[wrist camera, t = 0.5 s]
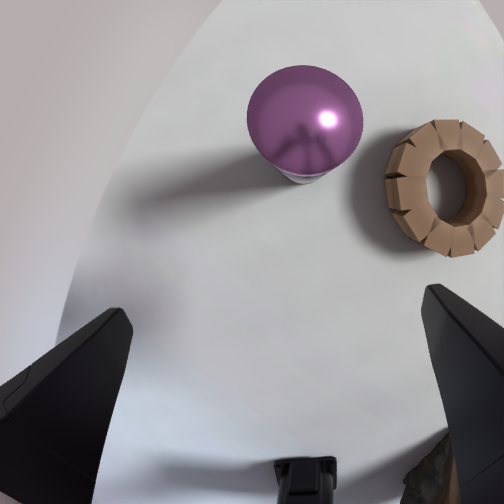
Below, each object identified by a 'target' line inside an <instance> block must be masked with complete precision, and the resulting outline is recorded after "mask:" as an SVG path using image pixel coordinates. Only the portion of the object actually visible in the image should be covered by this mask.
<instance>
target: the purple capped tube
mask: <svg viewBox="0 0 504 504" xmlns="http://www.w3.org/2000/svg"><path fill="white" fill-rule="evenodd" d="M247 126H248V130H249V134H250V137H251V139H252V141H253V143H254V145H255V146H256V148H257V149H258V151H259V152H260V153H261V154H262V155H263V156H264V157H265V158H266V159H267V160H268V161H269V162H270V163H272V164H273V165H274V166H275V167H276V168H277V169H278V170H280V171H281V172H282V173H283V174H284V175H285V176H286V177H287V178H289V179H290V180H291V181H293V182H296V183H299V184H308V183H312V182H314V181H316V180H318V179H319V178H321V177H322V176H324V175H325V174H327V173H328V172H330V171H331V170H333V169H334V168H336V167H337V166H339V165H340V164H342V163H343V162H344V161H345V160H346V159H348V158H349V157H350V156H351V154H352V153H353V152H354V150H355V149H356V147H357V145H358V143H359V141H360V139H361V135H362V131H363V114H362V109H361V106H360V103H359V101H358V98H357V96H356V95H355V93H354V92H353V90H352V89H351V88H350V87H349V85H348V84H347V83H346V82H345V81H343V80H342V79H341V78H340V77H338V76H337V75H335V74H333V73H332V72H330V71H327V70H325V69H322V68H319V67H314V66H306V65H299V66H291V67H287V68H284V69H281V70H278V71H276V72H274V73H272V74H271V75H269V76H268V77H267V78H265V79H264V80H263V81H262V82H261V83H260V84H259V85H258V87H257V88H256V89H255V91H254V92H253V94H252V97H251V99H250V101H249V105H248V110H247Z"/></svg>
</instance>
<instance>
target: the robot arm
mask: <svg viewBox="0 0 504 504" xmlns="http://www.w3.org/2000/svg"><path fill="white" fill-rule="evenodd" d="M421 315H422V320H423V324H424V329H425V333H426V338H427V343H428V348H429V353H430V358H431V362H432V366H433V370H434V373H435V376H436V380H437V383H438V387H439V391H440V395H441V398H442V402H443V406H444V410H445V415H446V419H447V423H448V428H449V433H450V438H451V443H452V448H453V453H454V459H455V465H456V472H457V479H458V487H459V488H460V489H459V497H460V504H504V328H503V327H502V326H500V325H499V324H497V323H496V322H495V321H493V320H492V319H491V318H489V317H488V316H486V315H485V314H484V313H482V312H481V311H479V310H478V309H477V308H475V307H474V306H472V305H471V304H470V303H468V302H467V301H465V300H464V299H462V298H461V297H459V296H458V295H456V294H455V293H453V292H452V291H451V290H449V289H448V288H446V287H445V286H443V285H441V284H431V285H428V286H426V288H425V292H424V297H423V302H422V307H421ZM132 336H133V327H132V325H131V323H130V321H129V319H128V317H127V315H126V313H125V311H124V310H123V309H122V308H109V309H108V310H106V311H105V312H103V313H102V314H101V315H99V316H98V317H96V318H95V319H93V320H92V321H91V322H89V323H88V324H86V325H85V326H84V327H82V328H81V329H79V330H78V331H76V332H75V333H74V334H72V335H71V336H69V337H68V338H67V339H65V340H64V341H63V342H61V343H60V344H58V345H57V346H56V347H54V348H53V349H51V350H50V351H49V352H47V353H46V354H45V355H43V356H42V357H40V358H39V359H38V360H36V361H35V362H34V363H32V365H30V366H28V367H27V368H26V369H24V370H23V371H21V372H20V373H19V374H17V375H16V376H15V377H13V378H12V379H10V380H9V381H7V382H6V383H4V384H3V385H2V386H0V504H91V503H92V498H93V493H94V488H95V483H96V478H97V473H98V469H99V464H100V460H101V456H102V452H103V448H104V444H105V440H106V436H107V432H108V428H109V425H110V421H111V417H112V414H113V410H114V407H115V403H116V400H117V396H118V393H119V390H120V386H121V383H122V380H123V376H124V373H125V368H126V364H127V359H128V354H129V350H130V345H131V341H132ZM274 469H275V473H276V477H277V481H278V486H279V491H278V498H277V504H333V490H335V489H336V484H337V460H336V458H335V457H327V458H316V459H303V460H284V461H275V462H274Z"/></svg>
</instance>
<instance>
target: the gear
mask: <svg viewBox="0 0 504 504" xmlns="http://www.w3.org/2000/svg"><path fill="white" fill-rule="evenodd" d="M484 137H485V135H483V134H482V133H480V132H479V131H477V130H476V129H474V128H473V127H471V126H470V125H468V124H467V123H465V122H464V121H462V122H460V123H459V120H433V121H431V122H428V123H426V124H424V125H422V126H420V127H418V128H416V129H414V130H413V131H412V132H410V133H409V134H408V135H407V136H406V137H404V138H403V139H402V140H401V141H399V142H398V143H397V144H396V145H397V147H395V148H393V150H392V153H391V156H390V159H389V162H388V165H387V168H386V171H385V174H386V175H388V176H390V177H392V179H384V182H385V189H386V196H387V203H388V208H392V209H394V210H393V211H391V212H390V213H391V215H392V216H393V218H394V219H395V221H396V222H397V224H398V225H399V227H400V228H401V230H402V231H403V233H404V234H405V235H406V236H408V237H409V239H411V240H413V241H415V242H417V243H419V244H421V245H423V246H425V247H427V248H429V249H431V250H434V251H436V252H438V253H440V254H442V255H444V256H446V257H447V256H449V257H451V258H453V257H458V256H464V255H469V254H474V250H477V251H479V250H480V249H481V248H482V247H483V246H484V245H485V244H486V243H487V242H488V241H489V240H490V239H491V238H492V237H493V236H494V235H495V234H496V233H495V231H494V229H493V228H496V229H499V226H500V223H501V220H502V217H503V213H504V201H503V200H501V199H500V198H504V169H503V170H497V169H498V168H499V167H500V166H501V165H502V163H501V161H500V159H499V157H498V156H497V154H496V152H495V150H494V148H493V147H492V145H491V143H490V142H489V140H484ZM441 153H443V154H444V155H446V156H448V157H450V158H451V159H453V160H455V161H456V162H457V164H458V165H459V167H460V169H461V170H462V172H463V174H464V175H465V180H466V188H467V196H466V199H465V202H464V205H463V208H462V210H461V211H460V212H459V213H458V214H457V215H456V216H454V217H453V218H452V219H451V220H447V221H442V220H440V219H439V218H438V216H437V215H436V213H435V211H434V210H433V208H432V207H431V205H430V203H429V202H428V194H427V187H426V178H427V175H428V172H429V168H430V165H431V162H432V161H433V160H434V159H435V158H436V157H437V156H438V155H439V154H441Z"/></svg>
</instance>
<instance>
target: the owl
mask: <svg viewBox="0 0 504 504" xmlns="http://www.w3.org/2000/svg"><path fill="white" fill-rule="evenodd" d="M403 483H404V484H405V485H406V487H405V490H404V494H403V497H402V498H401V500H400V504H460V497H459V489H460V488H459V487H458V479H457V472H456V465H455V459H454V453H453V448H452V443H451V438H450V433H449V432H448V434H447V435H446V436H445V437H444V438H443V439H442V440H441V441H440V442H439V443H438V444H437V445H436V447H435V448H434V449H433V451H432V452H431V453H430V454H428V455H427V456H426V457H424V458H423V459H422V461H421V462H420V464H419V465H418V466H417V467H416V468H414V469H413V470H411V471H410V472H409V473H408V474H407V475H406V476H405V479H404V481H403Z"/></svg>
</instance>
